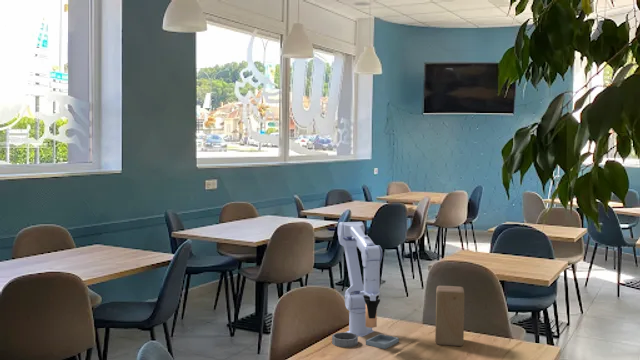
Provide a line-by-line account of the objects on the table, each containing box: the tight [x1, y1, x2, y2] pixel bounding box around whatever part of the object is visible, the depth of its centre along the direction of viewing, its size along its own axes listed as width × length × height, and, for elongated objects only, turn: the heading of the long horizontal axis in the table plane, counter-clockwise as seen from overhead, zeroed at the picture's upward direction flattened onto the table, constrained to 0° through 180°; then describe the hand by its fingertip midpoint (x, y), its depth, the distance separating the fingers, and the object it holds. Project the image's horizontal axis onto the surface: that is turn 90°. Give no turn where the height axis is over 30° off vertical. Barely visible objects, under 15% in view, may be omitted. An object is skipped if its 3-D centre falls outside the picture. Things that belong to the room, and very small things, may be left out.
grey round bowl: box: [331, 331, 359, 348], centre depth 222 cm, size 9×9×3 cm
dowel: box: [366, 305, 378, 329], centre depth 221 cm, size 4×4×8 cm
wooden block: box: [434, 285, 465, 347], centre depth 226 cm, size 10×10×20 cm
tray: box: [365, 333, 400, 350], centre depth 222 cm, size 10×8×2 cm
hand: (371, 316), depth 221 cm, fingers closed on dowel, 4 cm apart
